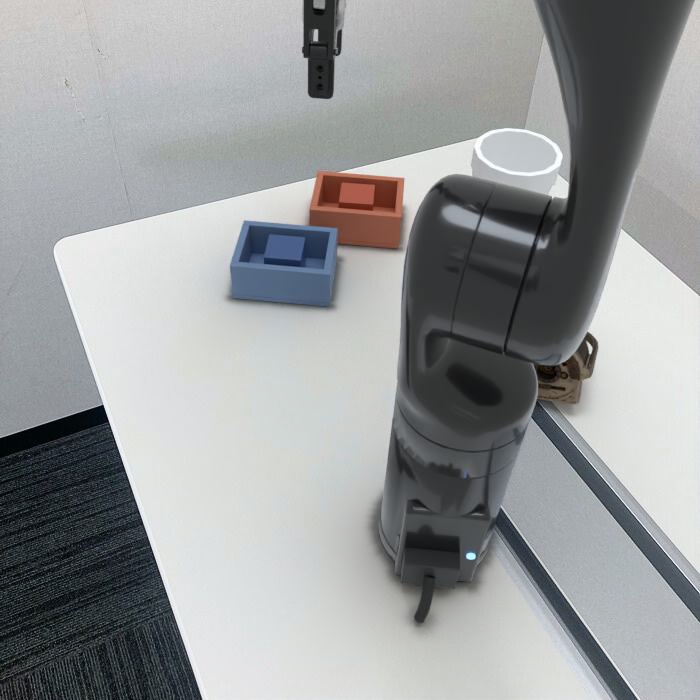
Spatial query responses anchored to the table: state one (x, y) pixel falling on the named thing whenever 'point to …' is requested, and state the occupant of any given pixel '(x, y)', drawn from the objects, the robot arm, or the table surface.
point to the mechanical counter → (567, 374)
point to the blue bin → (284, 281)
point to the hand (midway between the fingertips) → (325, 74)
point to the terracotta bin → (359, 224)
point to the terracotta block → (357, 196)
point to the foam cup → (517, 159)
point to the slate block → (285, 251)
